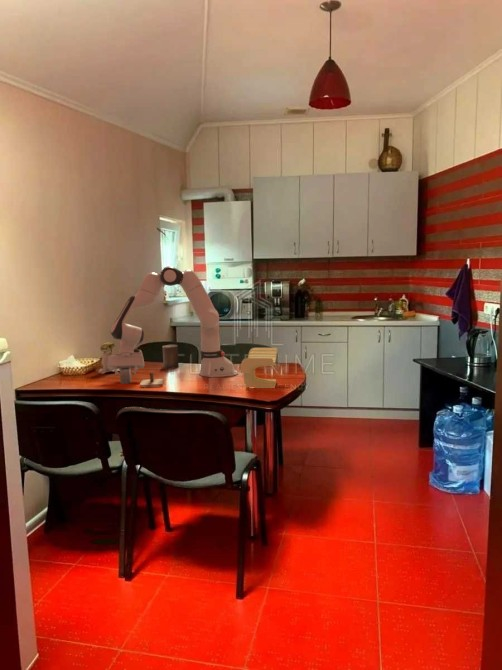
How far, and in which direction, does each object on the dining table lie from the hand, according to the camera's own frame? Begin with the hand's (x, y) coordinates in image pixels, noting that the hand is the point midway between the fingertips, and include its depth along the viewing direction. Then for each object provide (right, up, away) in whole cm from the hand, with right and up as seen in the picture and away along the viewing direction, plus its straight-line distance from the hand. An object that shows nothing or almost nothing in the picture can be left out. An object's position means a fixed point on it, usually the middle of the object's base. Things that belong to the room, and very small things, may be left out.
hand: (125, 374), depth 284 cm
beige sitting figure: (-17, -1, +30) cm, 35 cm away
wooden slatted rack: (+75, -5, -12) cm, 76 cm away
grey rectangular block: (0, -5, +1) cm, 5 cm away
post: (+16, -5, -4) cm, 17 cm away
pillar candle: (+19, +1, +40) cm, 44 cm away
